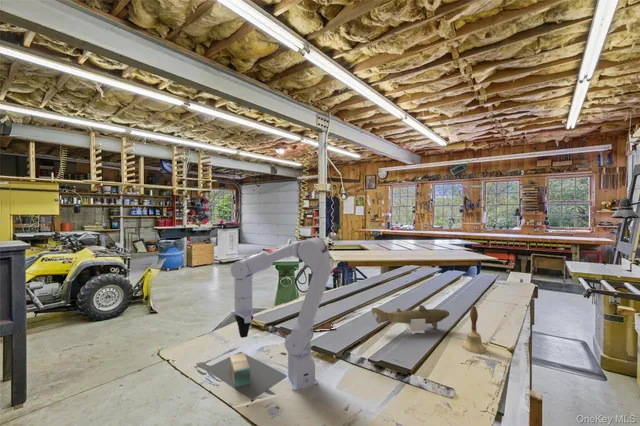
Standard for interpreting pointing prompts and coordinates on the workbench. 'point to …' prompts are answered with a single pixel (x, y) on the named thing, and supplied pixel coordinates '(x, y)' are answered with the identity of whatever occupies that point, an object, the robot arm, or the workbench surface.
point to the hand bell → (474, 336)
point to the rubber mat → (259, 376)
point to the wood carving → (412, 317)
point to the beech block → (239, 369)
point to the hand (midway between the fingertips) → (243, 336)
